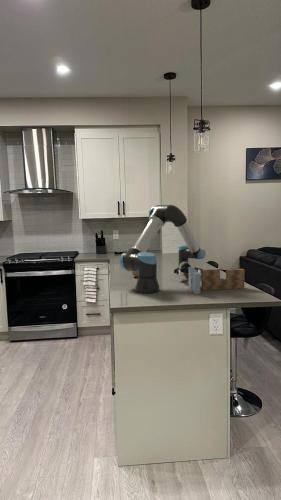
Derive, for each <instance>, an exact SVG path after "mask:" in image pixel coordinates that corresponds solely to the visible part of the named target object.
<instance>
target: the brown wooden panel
mask: <svg viewBox="0 0 281 500" xmlns="http://www.w3.org/2000/svg"><path fill="white" fill-rule="evenodd" d="M235 288H244V289H245V269H244V268H226V269H225V279H221V269H217V268H215V269H203V270H202V273H201V290H204V291H205V290H236V289H235Z"/></svg>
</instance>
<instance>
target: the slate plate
mask: <svg viewBox="0 0 281 500" xmlns="http://www.w3.org/2000/svg"><path fill="white" fill-rule="evenodd" d="M188 286H189V288H190V289H191V290H192V292H193V293H194V295H201V275H200V273H199V272H198V271H197V270H196V269H195V268H194V266H191V267H189V273H188Z"/></svg>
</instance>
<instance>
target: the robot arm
mask: <svg viewBox="0 0 281 500" xmlns="http://www.w3.org/2000/svg"><path fill="white" fill-rule="evenodd" d="M187 221H188V218H187V216H186V215H185V213H184V212H183V211H182V210H181V209H180V208H179V207H178V206H176V205H174V204H157V205H153V206H152V207H151V208H150V209H149V211H148V222H147V224H146V225H145V228H143V229H144V230H143V231H142V232H141V234H140V235H139V237H138V238H137V240H136V242H135V243H134V245H133V247H130V248H129V249H128V251H127V252H126V251H125V252H123V253H122V254H121V255H120V258H119V264H120V267H121V269H123V270H124V271H126V272H131V273H132V272H138V277H137V281H136V284H135V286H134V288H135V290H134V292H137V293H139V294H155V293H159V292H160V289H161V288H160V285H159V281H158V276H157V271H158V270H157V264H158V263H157V262H158V261H157V255H155V254H154V253H153V252H148V251H147V250H148V248H149V247H150V245H151V243H152V242H153V240H154V239H155V237H156V235H157V233H158V232H159V230H160V229H161V228H163V227H165V224H166V223H172V224H173V226H174V227H176V228H177V231H178V232H179V234H180V236H181V238H182V239H183V241H184V243H185V244H180V245H178V263H177V266H178V267H176V268H175V269H173V274H176V275H179V276H182V273H183V274H185V275H186V274H189V267H192V266H191V264H190V263H189V260H190V259H192V260H193V259H194V260H205V258H206V255H207V253H206V250H205V249H202V248H201V247H200V245H199V243H198V242H197V240H196V238H195V236H194V234H193V232H192V230H191V228H190V226H189V224H188V222H187ZM193 267H194V266H193ZM194 268H195V269H196V270H197V271H198V272H199V273H200V276H202V270H204V268H201V267H196V266H195V267H194Z"/></svg>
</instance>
